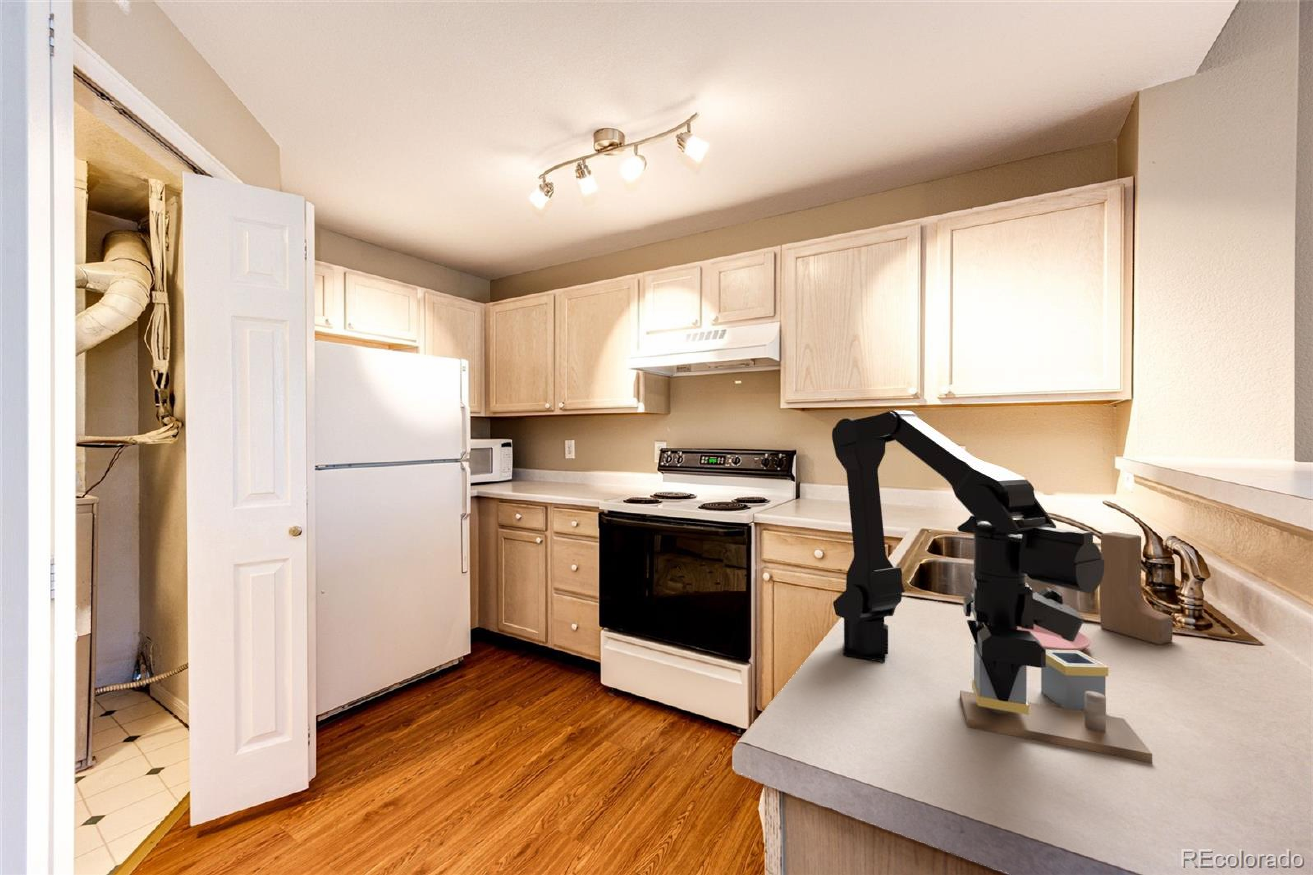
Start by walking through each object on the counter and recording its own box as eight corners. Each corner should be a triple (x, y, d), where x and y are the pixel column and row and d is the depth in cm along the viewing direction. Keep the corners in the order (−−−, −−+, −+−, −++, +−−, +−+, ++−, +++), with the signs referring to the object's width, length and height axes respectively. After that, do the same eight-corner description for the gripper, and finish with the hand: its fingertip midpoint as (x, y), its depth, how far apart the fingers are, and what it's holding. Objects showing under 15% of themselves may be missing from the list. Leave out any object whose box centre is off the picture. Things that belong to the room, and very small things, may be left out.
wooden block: (1173, 641, 93) (1174, 540, 93) (1160, 645, 91) (1160, 542, 91) (1112, 624, 101) (1113, 531, 101) (1099, 628, 100) (1099, 533, 99)
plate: (1089, 668, 83) (1089, 655, 83) (984, 645, 92) (984, 633, 92) (1091, 641, 94) (1091, 629, 94) (997, 622, 103) (997, 612, 103)
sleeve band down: (1028, 715, 65) (1028, 666, 65) (977, 705, 67) (978, 659, 67) (1019, 694, 70) (1019, 649, 70) (971, 686, 72) (972, 643, 72)
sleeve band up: (1065, 711, 70) (1065, 666, 70) (1038, 691, 76) (1038, 649, 75) (1108, 712, 70) (1108, 667, 70) (1078, 692, 75) (1078, 650, 75)
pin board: (967, 726, 66) (967, 687, 66) (960, 697, 74) (960, 662, 74) (1152, 762, 59) (1152, 718, 59) (1123, 726, 66) (1123, 686, 66)
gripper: (1103, 600, 57) (1102, 745, 57) (1054, 561, 74) (1054, 672, 74) (982, 588, 61) (982, 722, 61) (963, 554, 78) (962, 658, 78)
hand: (998, 691), depth 69 cm, fingers closed on sleeve band down, 5 cm apart
